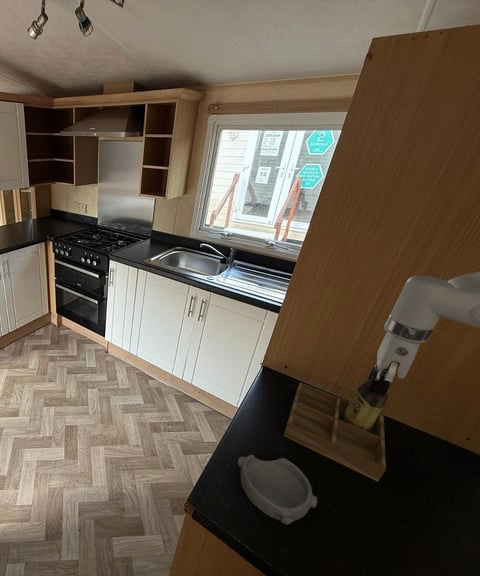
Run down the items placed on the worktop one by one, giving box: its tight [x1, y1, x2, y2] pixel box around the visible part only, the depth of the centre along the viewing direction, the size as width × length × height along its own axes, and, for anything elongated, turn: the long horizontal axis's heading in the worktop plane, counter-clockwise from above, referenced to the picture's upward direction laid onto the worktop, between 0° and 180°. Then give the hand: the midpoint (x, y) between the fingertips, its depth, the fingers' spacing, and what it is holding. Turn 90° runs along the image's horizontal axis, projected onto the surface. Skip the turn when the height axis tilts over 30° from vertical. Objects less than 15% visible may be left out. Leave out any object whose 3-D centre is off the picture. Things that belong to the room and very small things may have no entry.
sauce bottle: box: [343, 366, 389, 432], centre depth 83 cm, size 6×6×20 cm
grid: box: [283, 381, 387, 482], centre depth 85 cm, size 20×20×5 cm
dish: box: [237, 454, 318, 526], centre depth 70 cm, size 14×14×5 cm
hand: (375, 386), depth 80 cm, fingers closed on sauce bottle, 4 cm apart
